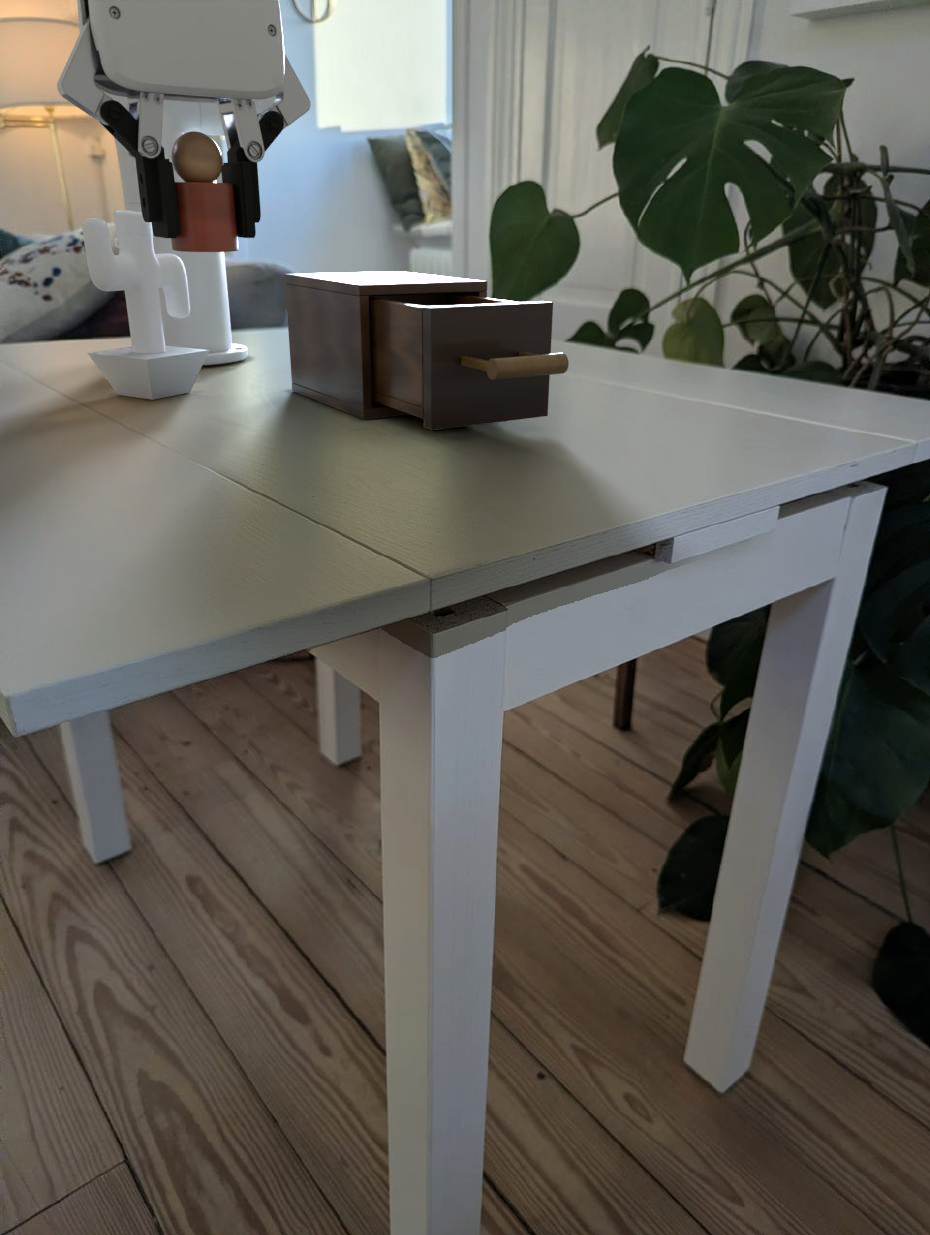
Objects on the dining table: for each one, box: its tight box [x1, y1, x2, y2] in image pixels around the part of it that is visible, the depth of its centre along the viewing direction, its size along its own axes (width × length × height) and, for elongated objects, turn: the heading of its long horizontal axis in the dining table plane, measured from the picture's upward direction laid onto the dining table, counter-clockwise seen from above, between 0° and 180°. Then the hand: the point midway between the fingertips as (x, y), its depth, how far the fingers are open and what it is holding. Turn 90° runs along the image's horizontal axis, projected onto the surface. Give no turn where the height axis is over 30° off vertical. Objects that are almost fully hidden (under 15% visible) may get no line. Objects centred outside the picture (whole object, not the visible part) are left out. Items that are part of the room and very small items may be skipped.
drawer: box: [369, 293, 570, 431], centre depth 69 cm, size 18×10×8 cm, turn 33°
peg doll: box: [171, 131, 240, 253], centre depth 52 cm, size 4×4×6 cm
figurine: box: [81, 209, 209, 401], centre depth 78 cm, size 7×9×15 cm
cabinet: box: [284, 270, 488, 421], centre depth 78 cm, size 15×12×10 cm
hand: (204, 233), depth 53 cm, fingers closed on peg doll, 3 cm apart
